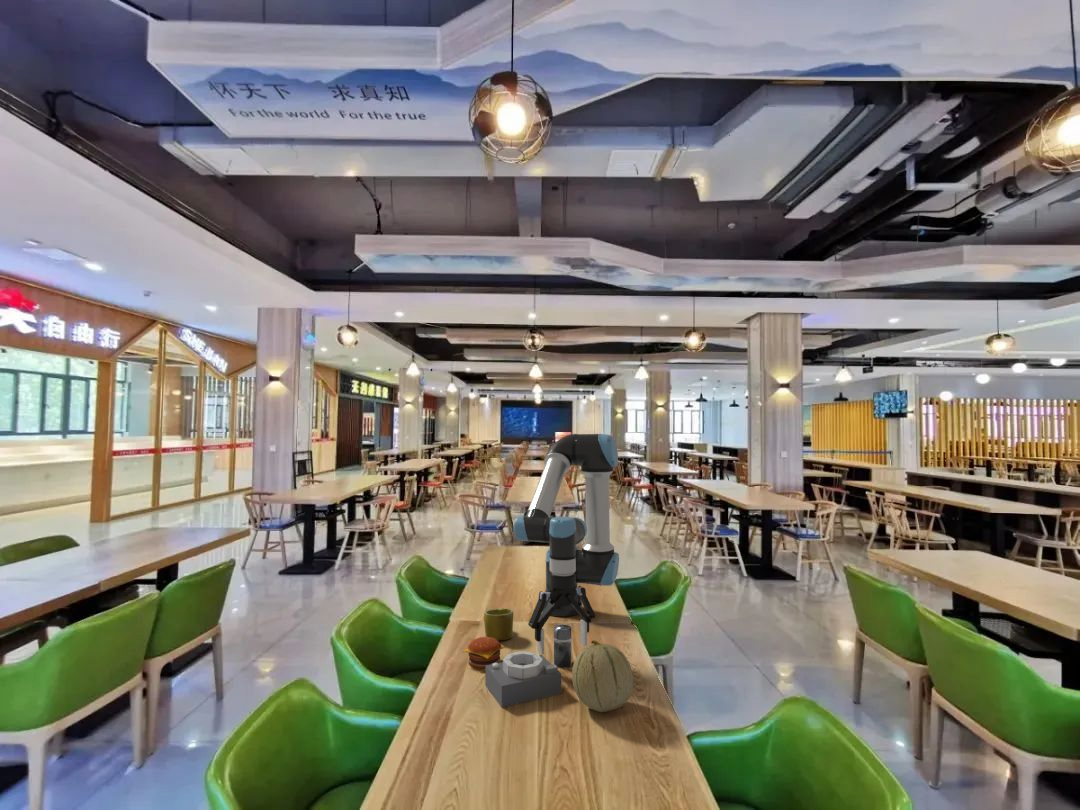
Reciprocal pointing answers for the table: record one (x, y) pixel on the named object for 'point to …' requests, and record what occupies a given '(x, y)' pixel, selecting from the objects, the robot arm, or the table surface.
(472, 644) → the hamburger
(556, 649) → the lens
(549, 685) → the camera body
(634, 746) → the table surface
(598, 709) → the cantaloupe
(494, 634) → the mug
